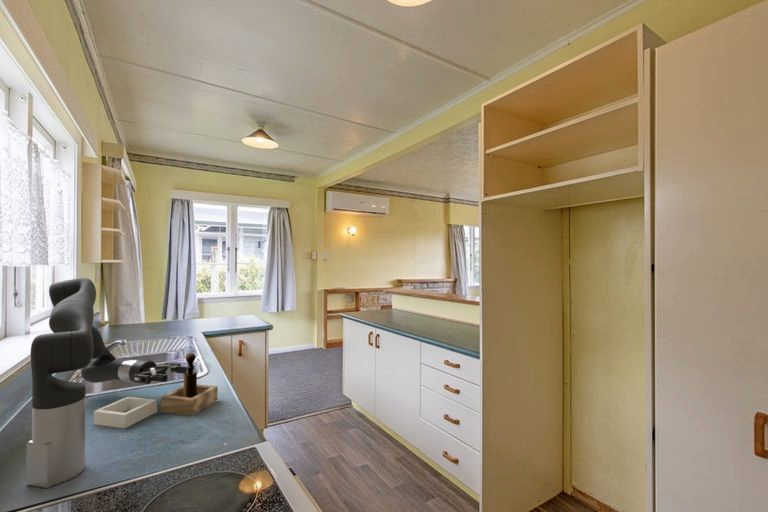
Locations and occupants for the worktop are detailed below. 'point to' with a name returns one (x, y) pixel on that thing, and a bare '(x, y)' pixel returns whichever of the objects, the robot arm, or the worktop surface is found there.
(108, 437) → the worktop surface
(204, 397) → the socket
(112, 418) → the tray
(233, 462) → the worktop surface
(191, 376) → the dark pepper mill
